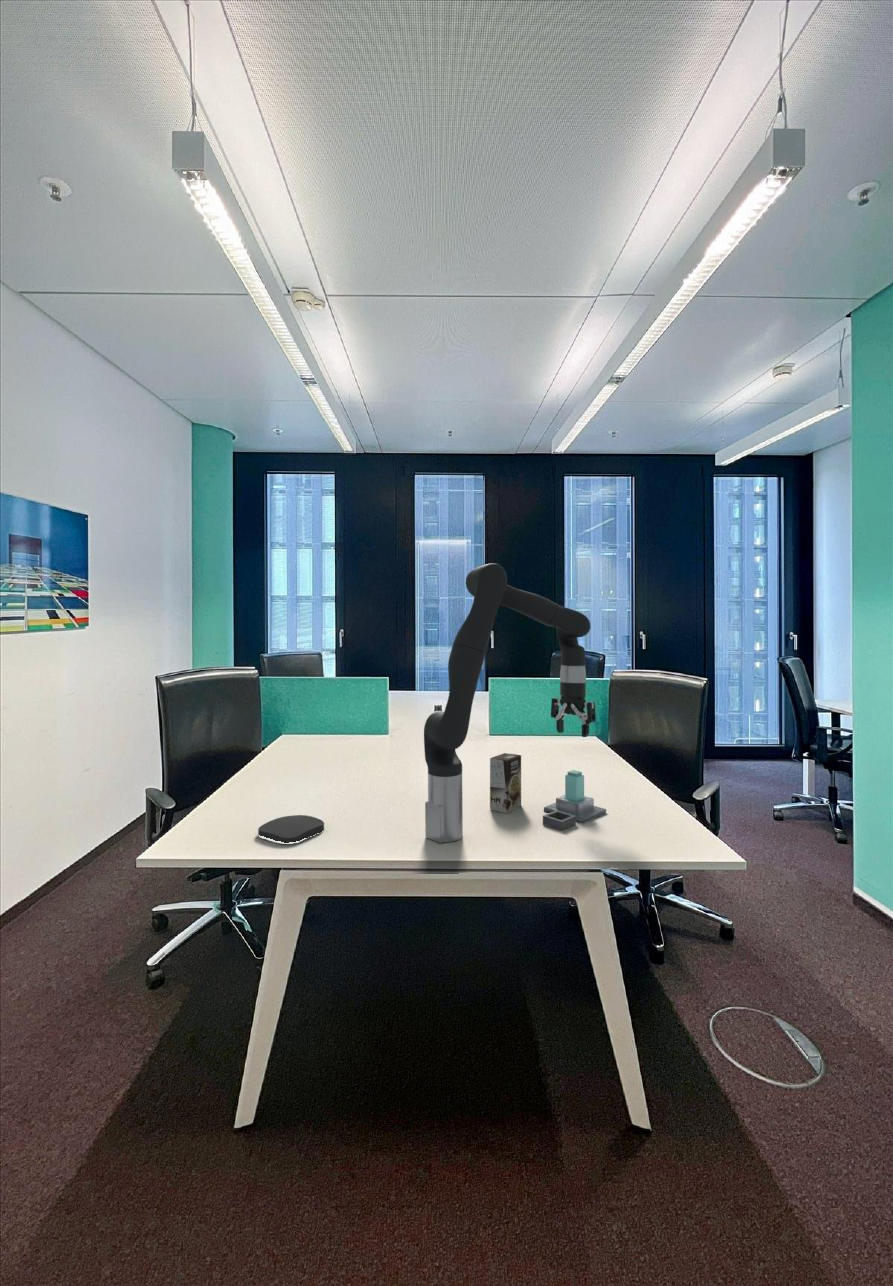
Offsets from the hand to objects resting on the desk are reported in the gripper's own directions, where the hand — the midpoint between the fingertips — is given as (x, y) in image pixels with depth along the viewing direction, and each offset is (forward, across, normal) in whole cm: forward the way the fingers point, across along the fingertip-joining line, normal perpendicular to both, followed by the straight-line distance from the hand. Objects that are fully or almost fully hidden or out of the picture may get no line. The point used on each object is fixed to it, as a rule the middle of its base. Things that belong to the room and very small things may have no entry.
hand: (572, 734), depth 161 cm
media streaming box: (+25, -44, -68) cm, 85 cm away
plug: (+22, 0, +2) cm, 23 cm away
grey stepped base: (+24, 0, +2) cm, 24 cm away
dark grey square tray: (+24, +3, -10) cm, 26 cm away
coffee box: (+24, -17, -10) cm, 31 cm away
